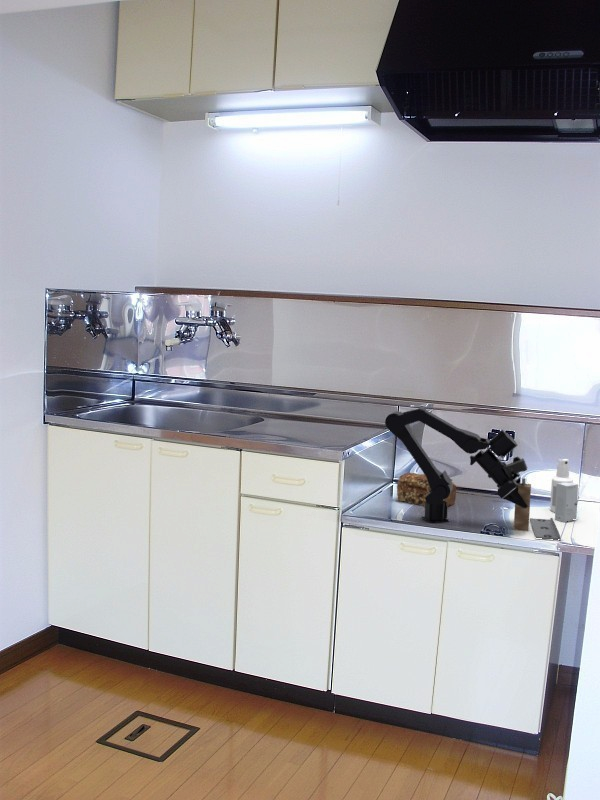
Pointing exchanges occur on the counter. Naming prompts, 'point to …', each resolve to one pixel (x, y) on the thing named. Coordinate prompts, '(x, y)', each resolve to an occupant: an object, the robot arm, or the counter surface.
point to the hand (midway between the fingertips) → (527, 504)
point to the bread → (418, 489)
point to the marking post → (522, 513)
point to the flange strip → (544, 529)
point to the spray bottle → (559, 480)
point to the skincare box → (566, 501)
